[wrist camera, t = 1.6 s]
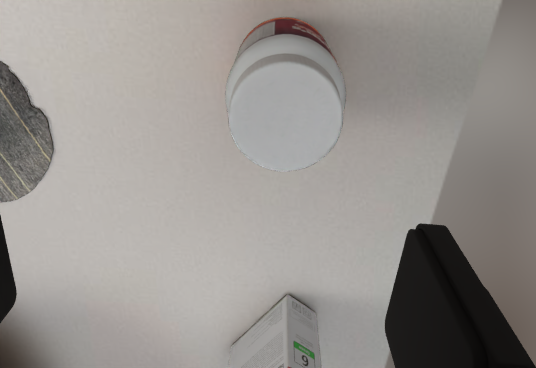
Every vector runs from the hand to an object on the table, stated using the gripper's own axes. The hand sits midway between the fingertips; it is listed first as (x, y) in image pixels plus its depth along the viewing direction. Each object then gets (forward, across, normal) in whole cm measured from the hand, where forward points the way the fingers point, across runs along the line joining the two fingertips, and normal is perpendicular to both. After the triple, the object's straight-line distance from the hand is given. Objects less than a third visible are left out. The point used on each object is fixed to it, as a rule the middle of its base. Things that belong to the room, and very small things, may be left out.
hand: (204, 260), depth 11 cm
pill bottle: (+22, -2, 0) cm, 22 cm away
